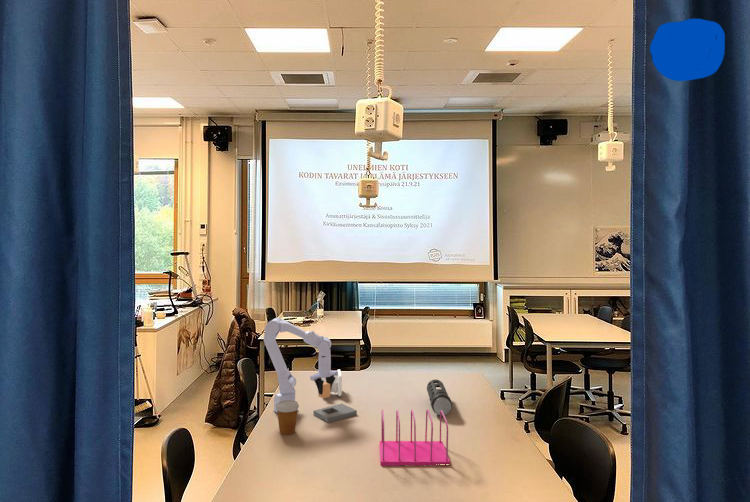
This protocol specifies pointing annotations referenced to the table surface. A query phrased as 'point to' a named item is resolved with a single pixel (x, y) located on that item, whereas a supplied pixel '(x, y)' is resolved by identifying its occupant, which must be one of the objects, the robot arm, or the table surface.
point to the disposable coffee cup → (287, 416)
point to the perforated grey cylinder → (439, 397)
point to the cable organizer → (336, 383)
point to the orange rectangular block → (325, 390)
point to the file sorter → (413, 447)
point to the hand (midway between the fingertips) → (324, 392)
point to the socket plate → (335, 412)
